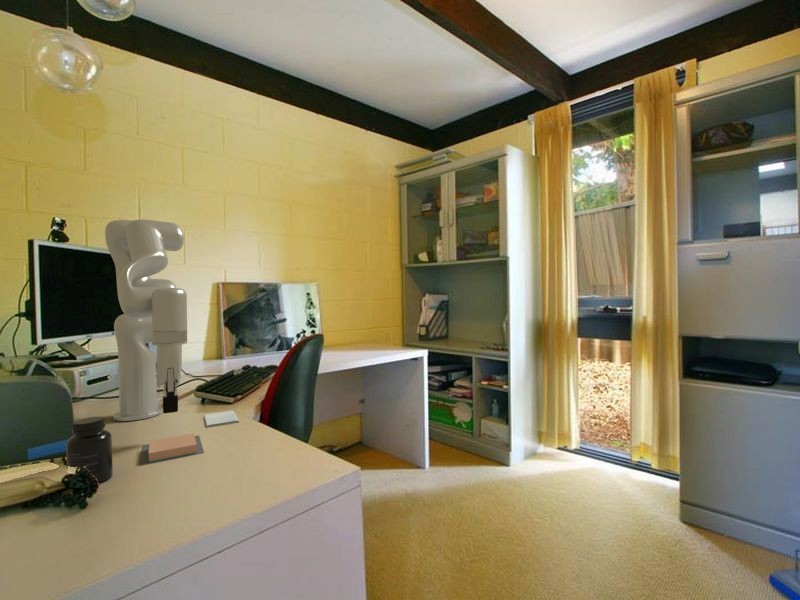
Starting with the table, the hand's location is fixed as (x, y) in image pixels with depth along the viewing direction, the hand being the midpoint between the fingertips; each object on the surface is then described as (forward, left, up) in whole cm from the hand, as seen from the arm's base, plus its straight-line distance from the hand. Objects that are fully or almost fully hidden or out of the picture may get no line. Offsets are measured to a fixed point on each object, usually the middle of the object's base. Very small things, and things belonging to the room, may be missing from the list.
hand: (170, 411), depth 97 cm
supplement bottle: (+23, -1, -7) cm, 24 cm away
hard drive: (-16, +4, -8) cm, 18 cm away
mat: (+7, +5, -7) cm, 11 cm away
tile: (+4, +3, -6) cm, 8 cm away
